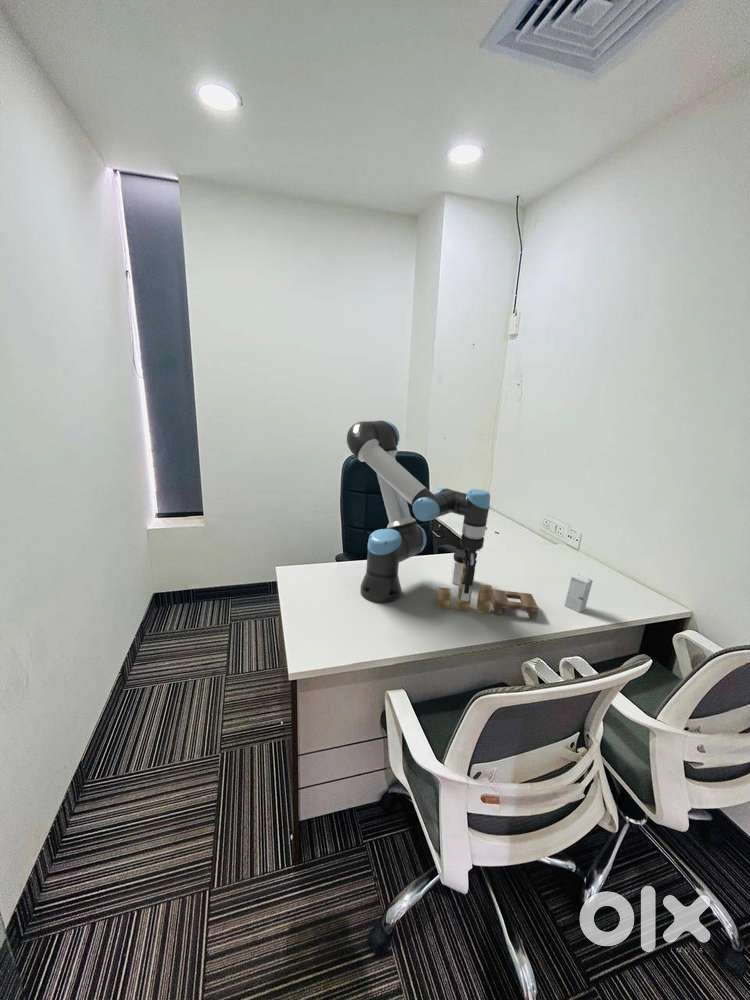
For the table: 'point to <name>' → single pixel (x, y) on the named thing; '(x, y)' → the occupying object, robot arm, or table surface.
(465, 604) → the peg long
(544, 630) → the table surface
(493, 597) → the bridge
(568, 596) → the skincare box
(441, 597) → the peg short
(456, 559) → the jar
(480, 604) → the peg mid
